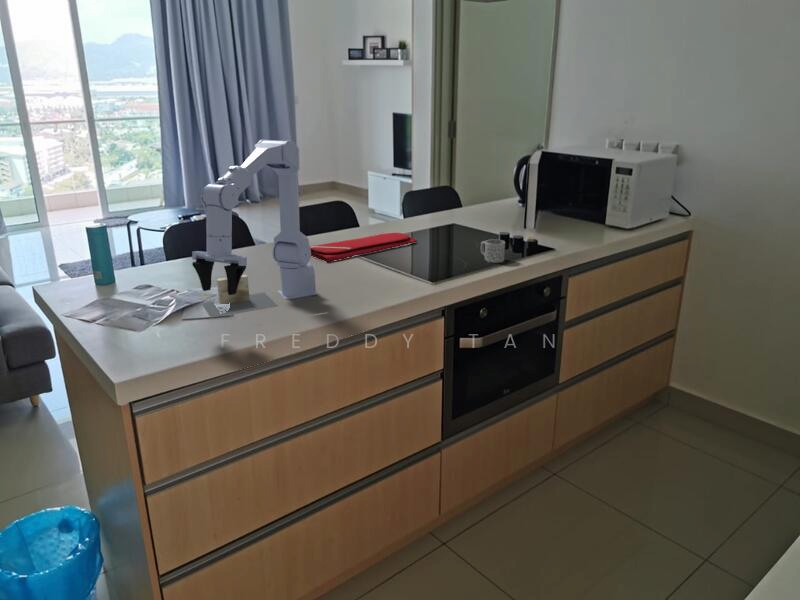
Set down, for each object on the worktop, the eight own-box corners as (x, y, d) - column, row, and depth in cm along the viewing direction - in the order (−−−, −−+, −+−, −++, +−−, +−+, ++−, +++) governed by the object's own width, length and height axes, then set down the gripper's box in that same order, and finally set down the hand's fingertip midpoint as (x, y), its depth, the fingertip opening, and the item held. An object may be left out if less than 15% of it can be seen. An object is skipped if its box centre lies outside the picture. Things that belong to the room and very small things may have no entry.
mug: (508, 260, 206) (509, 242, 204) (494, 264, 203) (495, 245, 200) (487, 254, 214) (488, 236, 212) (473, 257, 210) (474, 239, 208)
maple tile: (247, 298, 170) (245, 274, 168) (249, 300, 169) (247, 276, 166) (219, 302, 167) (216, 278, 164) (221, 304, 165) (218, 280, 163)
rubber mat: (264, 293, 175) (264, 292, 175) (278, 307, 164) (277, 305, 164) (201, 304, 167) (201, 302, 167) (211, 319, 156) (211, 317, 156)
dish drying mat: (418, 245, 229) (418, 235, 228) (327, 264, 205) (327, 254, 204) (392, 237, 241) (392, 228, 239) (303, 255, 216) (303, 245, 215)
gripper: (182, 234, 140) (183, 290, 143) (233, 239, 135) (233, 298, 138) (203, 232, 147) (203, 286, 149) (252, 237, 141) (252, 294, 144)
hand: (219, 292), depth 144 cm, fingers open, 7 cm apart
